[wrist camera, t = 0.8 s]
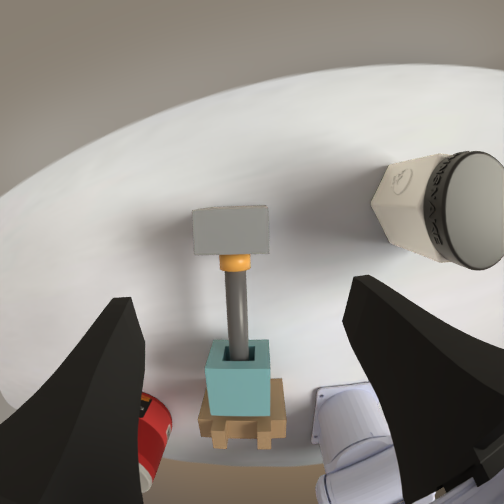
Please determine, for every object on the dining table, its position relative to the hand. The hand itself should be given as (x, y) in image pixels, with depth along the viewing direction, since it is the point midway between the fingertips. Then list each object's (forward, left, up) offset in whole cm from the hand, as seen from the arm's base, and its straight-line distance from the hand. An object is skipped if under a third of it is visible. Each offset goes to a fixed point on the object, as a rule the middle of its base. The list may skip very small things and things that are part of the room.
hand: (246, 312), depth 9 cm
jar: (+3, -16, -19) cm, 24 cm away
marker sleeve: (-11, +1, -15) cm, 19 cm away
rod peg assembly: (-8, +1, -18) cm, 20 cm away
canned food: (-22, +14, -19) cm, 32 cm away
